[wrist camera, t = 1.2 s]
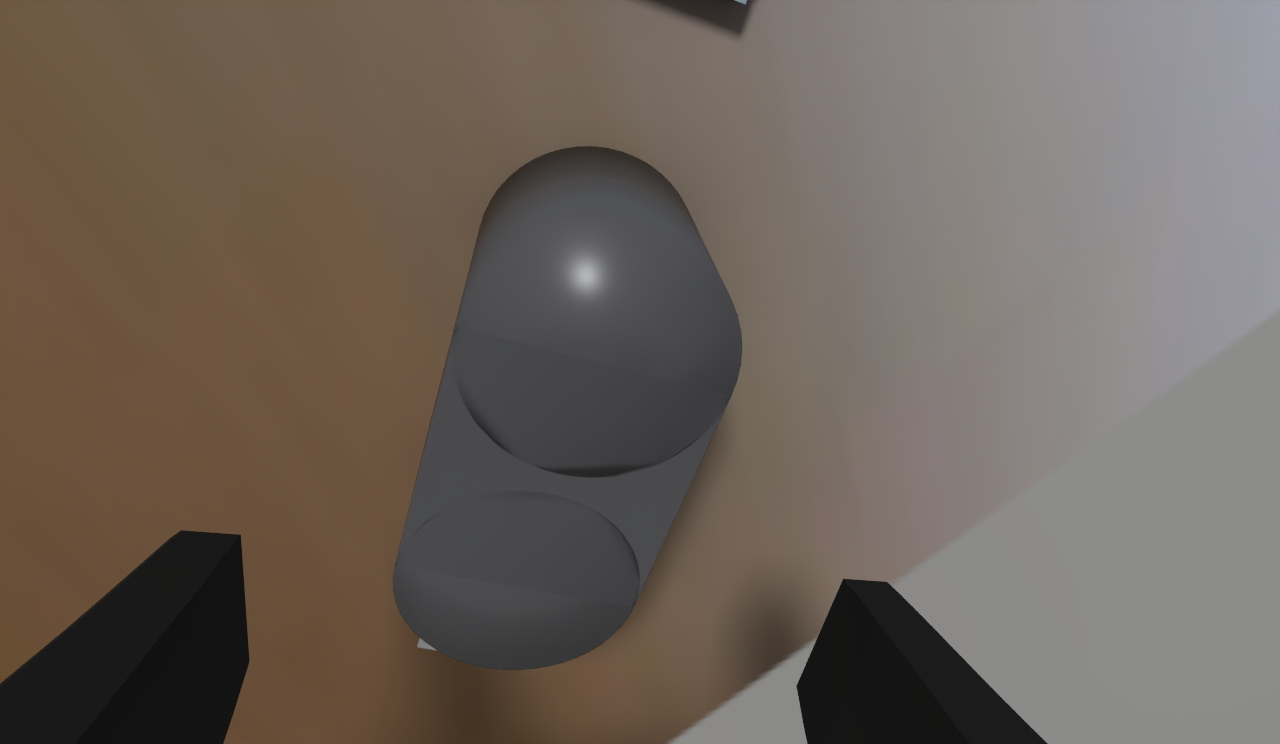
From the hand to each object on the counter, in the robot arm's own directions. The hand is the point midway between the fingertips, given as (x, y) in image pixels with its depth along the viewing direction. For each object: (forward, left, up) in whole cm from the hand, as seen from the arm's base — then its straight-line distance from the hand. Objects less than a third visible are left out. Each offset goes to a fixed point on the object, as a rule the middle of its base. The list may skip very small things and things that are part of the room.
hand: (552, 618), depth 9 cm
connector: (0, 0, -7) cm, 7 cm away
